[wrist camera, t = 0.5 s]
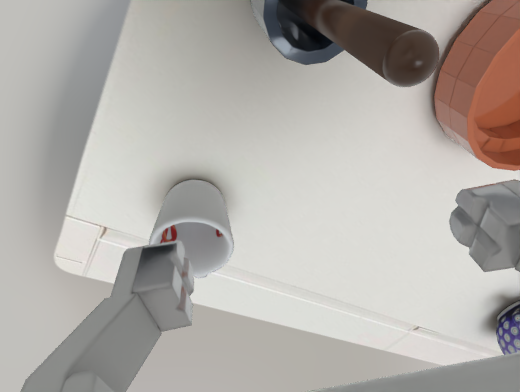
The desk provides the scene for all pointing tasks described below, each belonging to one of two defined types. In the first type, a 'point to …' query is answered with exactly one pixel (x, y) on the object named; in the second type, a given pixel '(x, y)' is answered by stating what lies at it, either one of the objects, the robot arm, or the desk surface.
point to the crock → (295, 32)
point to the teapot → (509, 329)
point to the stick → (373, 39)
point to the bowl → (484, 86)
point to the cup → (196, 225)
